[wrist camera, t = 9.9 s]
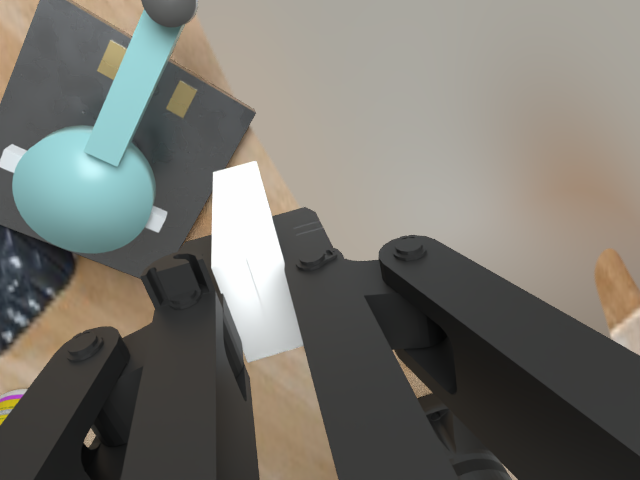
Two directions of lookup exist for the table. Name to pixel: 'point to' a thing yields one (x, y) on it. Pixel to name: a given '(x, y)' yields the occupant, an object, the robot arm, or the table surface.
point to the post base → (150, 137)
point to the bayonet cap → (102, 152)
